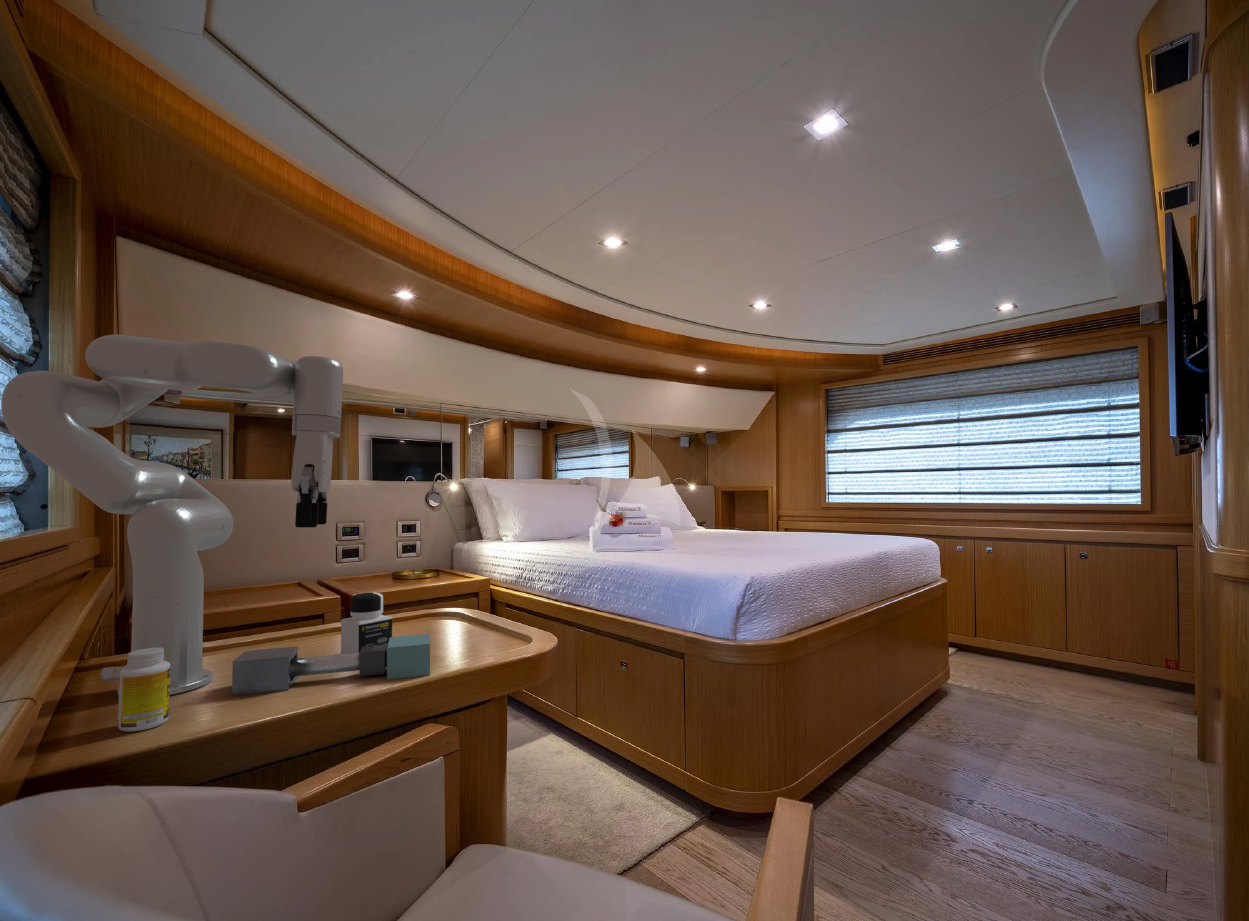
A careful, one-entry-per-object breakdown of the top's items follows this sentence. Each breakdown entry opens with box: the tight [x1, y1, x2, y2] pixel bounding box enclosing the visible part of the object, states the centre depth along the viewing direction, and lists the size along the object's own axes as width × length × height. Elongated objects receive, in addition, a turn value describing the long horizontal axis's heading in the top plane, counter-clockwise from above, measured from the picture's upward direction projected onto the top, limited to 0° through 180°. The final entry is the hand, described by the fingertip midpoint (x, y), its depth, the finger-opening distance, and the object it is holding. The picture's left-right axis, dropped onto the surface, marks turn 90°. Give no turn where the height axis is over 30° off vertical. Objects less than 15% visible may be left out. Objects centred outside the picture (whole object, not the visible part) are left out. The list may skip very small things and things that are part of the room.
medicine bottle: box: [340, 591, 393, 654], centre depth 118 cm, size 7×7×12 cm
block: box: [386, 633, 431, 681], centre depth 105 cm, size 7×8×5 cm
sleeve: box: [231, 646, 299, 697], centre depth 98 cm, size 8×7×5 cm
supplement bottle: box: [117, 648, 171, 733], centre depth 82 cm, size 6×6×10 cm
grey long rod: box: [290, 644, 387, 678], centre depth 101 cm, size 22×4×4 cm, turn 109°
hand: (311, 525), depth 101 cm, fingers open, 9 cm apart
